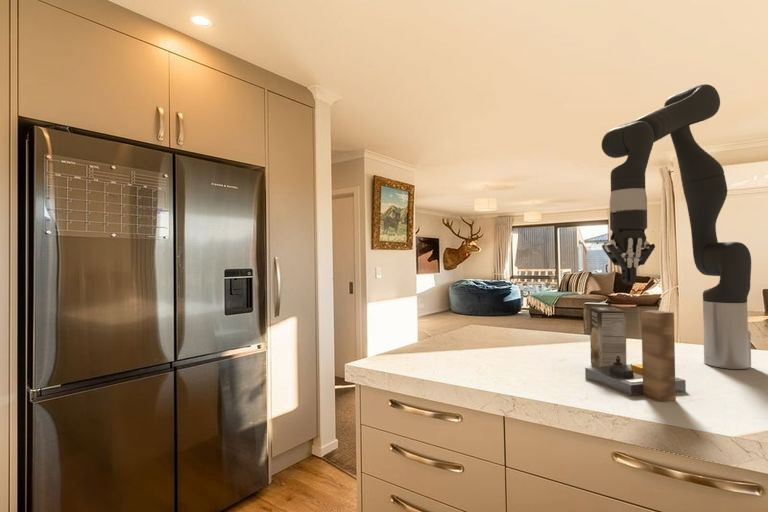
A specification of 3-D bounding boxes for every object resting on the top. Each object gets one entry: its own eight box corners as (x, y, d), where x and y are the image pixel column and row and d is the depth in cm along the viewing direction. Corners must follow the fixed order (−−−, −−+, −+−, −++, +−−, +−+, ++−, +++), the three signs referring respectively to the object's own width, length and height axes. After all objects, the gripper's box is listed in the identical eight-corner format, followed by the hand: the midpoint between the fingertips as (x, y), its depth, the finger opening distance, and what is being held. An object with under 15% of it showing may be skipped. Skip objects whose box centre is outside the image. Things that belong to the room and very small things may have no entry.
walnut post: (658, 394, 87) (657, 310, 87) (675, 400, 83) (673, 312, 84) (643, 395, 86) (641, 311, 87) (659, 401, 83) (657, 313, 83)
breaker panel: (634, 376, 102) (633, 358, 102) (685, 393, 89) (685, 373, 89) (585, 380, 100) (585, 362, 100) (631, 399, 86) (630, 378, 86)
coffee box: (589, 364, 112) (588, 306, 112) (614, 365, 111) (613, 306, 111) (600, 373, 103) (599, 310, 103) (628, 374, 102) (627, 310, 102)
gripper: (639, 212, 100) (640, 282, 100) (592, 211, 97) (593, 283, 97) (665, 208, 93) (666, 284, 93) (615, 207, 90) (617, 285, 90)
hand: (629, 283), depth 95 cm, fingers closed
